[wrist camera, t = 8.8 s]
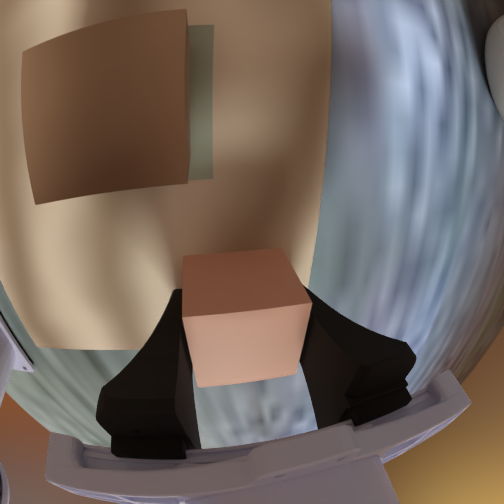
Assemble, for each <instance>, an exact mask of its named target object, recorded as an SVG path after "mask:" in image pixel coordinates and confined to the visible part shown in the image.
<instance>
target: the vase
mask: <svg viewBox="0 0 504 504" xmlns="http://www.w3.org/2000/svg"><path fill="white" fill-rule="evenodd" d="M485 68H486V74H487V79H488V84H489V88H490V91H491V94H492V97H493V100H494V103H495V105H496V108H497V110H498V112H499V114H500V116H501V118H502V119H503V121H504V15H503V16H501V17H500V18H498V19H497V20H496V21H495V22H494V23H493V24H492V26H491V27H490V29H489V31H488V33H487V36H486V41H485Z"/></svg>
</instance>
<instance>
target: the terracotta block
mask: <svg viewBox="0 0 504 504" xmlns="http://www.w3.org/2000/svg"><path fill="white" fill-rule="evenodd" d="M311 307H312V301H311V299H310V297H309V296H308V294H307V292H306V290H305V288H304V287H303V285H302V283H301V281H300V279H299V277H298V276H297V274H296V272H295V270H294V269H293V267H292V265H291V263H290V261H289V260H288V258H287V256H286V254H285V252H284V251H283V249H282V248H274V249H261V250H249V251H236V252H224V253H211V254H199V255H186V256H183V285H182V319H183V324H184V329H185V334H186V338H187V343H188V347H189V352H190V356H191V360H192V365H193V369H194V373H195V377H196V381H197V385H198V387H209V386H219V385H229V384H237V383H245V382H252V381H259V380H265V379H271V378H277V377H282V376H288V375H293V374H296V371H297V367H298V363H299V359H300V355H301V351H302V347H303V343H304V339H305V334H306V330H307V325H308V321H309V316H310V311H311Z"/></svg>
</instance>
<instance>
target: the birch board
mask: <svg viewBox="0 0 504 504" xmlns="http://www.w3.org/2000/svg"><path fill="white" fill-rule="evenodd" d="M177 9H187V20H188V30H189V40H190V51H189V120H190V152H191V157H190V166H189V175H188V184H178V185H167V186H157V187H148V188H139V189H131V190H123V191H116V192H109V193H102V194H95V195H89V196H82V197H77V198H71V199H65V200H60V201H54V202H49V203H44V204H39V205H35V202H34V198H33V193H32V188H31V183H30V178H29V173H28V167H27V161H26V154H25V146H24V138H23V127H22V112H21V67H22V53H23V51H25V50H27V49H29V48H32V47H34V46H36V45H38V44H40V43H43V42H45V41H48V40H50V39H53V38H55V37H58V36H60V35H63V34H66V33H69V32H72V31H75V30H78V29H81V28H84V27H87V26H91V25H94V24H98V23H102V22H106V21H110V20H114V19H118V18H123V17H128V16H133V15H139V14H145V13H151V12H159V11H167V10H177ZM331 54H332V13H331V0H0V280H1V282H2V284H3V287H4V289H5V291H6V293H7V295H8V297H9V299H10V301H11V303H12V305H13V307H14V308H15V310H16V312H17V314H18V316H19V318H20V319H21V321H22V323H23V325H24V326H25V328H26V330H27V331H28V333H29V335H30V336H31V338H32V339H33V341H34V343H35V344H36V346H37V347H44V348H60V349H85V350H136V349H141V348H142V347H143V346H144V344H145V343H146V342H147V340H148V339H149V337H150V336H151V334H152V332H153V331H154V329H155V327H156V326H157V324H158V322H159V320H160V318H161V316H162V314H163V312H164V310H165V308H166V306H167V304H168V302H169V299H170V297H171V294H172V291H173V290H174V289H182V285H183V256H186V255H199V254H211V253H224V252H236V251H249V250H261V249H274V248H282V249H283V251H284V252H285V254H286V256H287V258H288V260H289V261H290V263H291V265H292V267H293V269H294V270H295V272H296V274H297V276H298V277H299V279H300V281H301V283H302V284H303V285H304V286H305V287H306V288H308V284H309V278H310V272H311V266H312V260H313V254H314V247H315V240H316V233H317V226H318V219H319V211H320V203H321V195H322V186H323V177H324V168H325V157H326V146H327V134H328V121H329V105H330V86H331Z"/></svg>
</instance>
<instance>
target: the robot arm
mask: <svg viewBox="0 0 504 504" xmlns="http://www.w3.org/2000/svg"><path fill="white" fill-rule="evenodd" d="M302 285H303V284H302ZM303 287H304V288H305V290H306V292H307V294H308V296H309V297H310V299H311V301H312V307H311V311H310V316H309V321H308V325H307V330H306V334H305V339H304V343H303V347H302V351H301V355H300V359H299V361H300V364H301V366H302V369H303V372H304V376H305V379H306V382H307V386H308V389H309V393H310V397H311V401H312V405H313V409H314V413H315V418H316V422H317V427H318V430H314V431H310V432H306V433H302V434H298V435H294V436H289V437H285V438H280V439H275V440H270V441H264V442H259V443H252V444H246V445H239V446H231V447H221V448H210V449H201V443H200V437H199V431H198V424H197V417H196V409H195V401H194V392H193V379H192V368H193V365H192V360H191V356H190V352H189V347H188V343H187V338H186V334H185V329H184V324H183V319H182V289H174V290H173V291H172V294H171V297H170V299H169V302H168V304H167V306H166V308H165V310H164V312H163V314H162V316H161V318H160V320H159V322H158V324H157V326H156V327H155V329H154V331H153V332H152V334H151V336H150V337H149V339H148V340H147V342H146V343H145V344H144V346H143V347H142V348H141V350H140V351H139V352H138V353H137V355H136V356H135V357H134V358H133V359H132V361H131V362H130V363H129V364H128V365H127V366H126V367H125V368H124V369H123V370H122V371H121V372H120V373H119V374H118V375H117V376H116V377H114V378H113V379H112V380H111V381H110V382H108V383H107V384H106V385H105V386H103V387H102V389H101V392H100V395H99V399H98V404H97V411H96V420H97V422H98V423H99V424H100V425H101V426H102V427H103V428H104V429H105V430H106V431H107V432H108V433H109V434H110V435H111V436H112V437H111V448H110V447H101V446H94V445H87V444H83V443H82V442H81V441H80V440H79V439H77V438H75V437H73V436H69V435H64V434H59V433H54V432H51V433H50V439H49V445H48V453H47V461H46V472H45V480H46V481H48V482H50V483H52V484H54V485H56V486H58V487H60V488H63V489H65V490H67V491H70V492H72V493H75V494H77V495H82V496H86V497H90V498H95V499H100V500H105V501H110V502H116V503H121V504H400V503H399V500H398V498H397V496H396V493H395V491H394V489H393V487H392V484H391V482H390V480H389V477H388V475H387V473H386V471H385V468H384V466H383V463H385V462H387V461H389V460H391V459H393V458H395V457H397V456H399V455H401V454H402V453H404V452H406V451H407V450H409V449H411V448H413V447H414V446H416V445H418V444H420V443H421V442H423V441H424V440H426V439H428V438H429V437H431V436H432V435H434V434H435V433H437V432H439V431H440V430H442V429H443V428H444V427H446V426H447V425H448V424H449V423H451V422H452V421H453V420H454V419H455V418H456V417H457V416H459V415H460V414H461V413H462V412H463V411H464V410H465V409H466V408H467V407H468V406H469V405H470V404H471V401H470V399H469V398H468V396H467V394H466V393H465V392H464V390H463V388H462V387H461V385H460V384H459V383H458V381H457V380H456V378H455V377H454V375H453V374H452V372H451V371H450V370H447V371H445V372H444V373H442V374H440V375H438V376H436V377H435V378H434V379H432V380H431V381H430V383H429V384H428V385H427V387H426V388H424V389H422V390H420V391H418V392H416V393H414V394H412V395H410V394H409V392H408V390H407V389H406V387H407V385H408V383H407V381H406V380H405V378H406V376H407V375H408V374H409V372H410V371H411V369H412V368H413V366H414V364H415V362H416V355H415V354H414V352H413V351H412V349H411V348H410V347H409V345H408V344H407V343H406V342H403V341H400V340H396V339H393V338H389V337H386V336H384V335H381V334H378V333H376V332H373V331H371V330H369V329H367V328H365V327H363V326H361V325H359V324H357V323H355V322H353V321H351V320H350V319H348V318H346V317H345V316H343V315H341V314H340V313H338V312H337V311H335V310H334V309H333V308H331V307H330V306H328V305H327V304H326V303H324V302H323V301H322V300H321V299H319V298H318V297H317V296H316V295H315V294H313V293H312V292H311V291H310V290H309V289H308V288H306V287H305V286H304V285H303ZM13 369H14V370H20V371H26V372H34V370H35V367H34V366H33V364H32V363H31V362H30V360H29V359H28V357H27V356H26V355H25V353H24V352H23V350H22V349H21V347H20V346H19V344H18V343H17V341H16V340H15V338H14V337H13V335H12V334H11V332H10V330H9V329H8V327H7V326H6V324H5V322H4V320H3V319H2V317H1V315H0V406H1V403H2V399H3V396H4V393H5V390H6V387H7V384H8V381H9V378H10V375H11V372H12V370H13ZM0 504H9V485H8V480H7V477H6V473H5V471H4V468H3V466H2V464H1V462H0Z"/></svg>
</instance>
